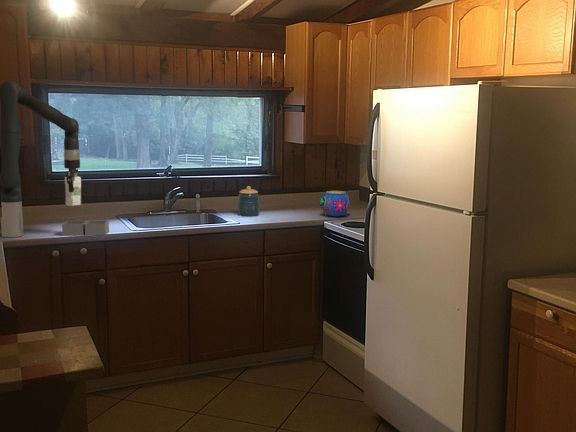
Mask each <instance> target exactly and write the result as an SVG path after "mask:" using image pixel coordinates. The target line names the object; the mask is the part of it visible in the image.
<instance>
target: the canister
mask: <svg viewBox="0 0 576 432" xmlns="http://www.w3.org/2000/svg"><path fill="white" fill-rule="evenodd" d="M251 188H252V187H251V186H250V185H247V186H246V188H245V189H244V188H243V189H241V190H240V191H239V194H238V196H237V197H238V201H237V203H238V204H237V205H238V206H237V208H238V209H237V210H238V211H237V214H238V216H240V217H257V216H259V214H260V200H259V197H260V194H258V193H259V191H258V190H256V189H251Z"/></svg>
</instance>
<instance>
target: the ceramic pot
mask: <svg viewBox="0 0 576 432" xmlns="http://www.w3.org/2000/svg"><path fill="white" fill-rule="evenodd" d="M319 204H320V206H321V210H322V212H323V213H324V214H325V215H327V216H329V217H332V218H333V217H334V218H337V217H342V216H345V215H346V214H347V213H348V211H349V210H350V206H351V201H350V197H349V195H348V193H347V192H346V191H342V190H327V191H326V192H324V194H323V195H322V197H321V198H320V201H319Z"/></svg>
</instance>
